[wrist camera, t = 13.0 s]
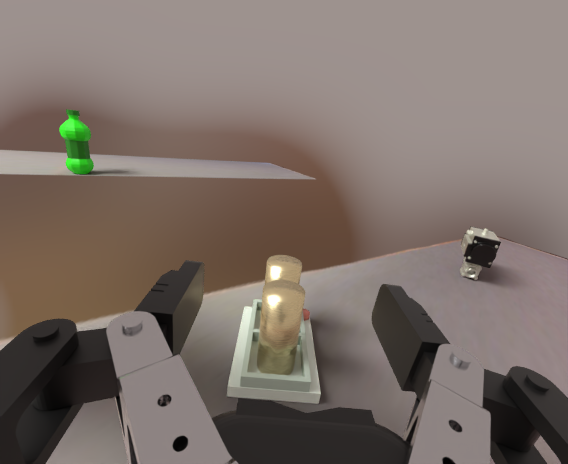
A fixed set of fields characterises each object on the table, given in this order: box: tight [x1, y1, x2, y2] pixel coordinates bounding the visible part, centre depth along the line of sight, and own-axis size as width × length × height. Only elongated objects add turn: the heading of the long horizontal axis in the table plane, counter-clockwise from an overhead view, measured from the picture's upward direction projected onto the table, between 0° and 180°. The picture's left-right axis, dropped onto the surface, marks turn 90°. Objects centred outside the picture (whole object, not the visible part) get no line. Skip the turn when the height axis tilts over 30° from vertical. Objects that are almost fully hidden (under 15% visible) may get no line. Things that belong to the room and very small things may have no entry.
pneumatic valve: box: [460, 227, 501, 280], centre depth 64 cm, size 6×12×12 cm, turn 152°
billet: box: [257, 280, 305, 375], centre depth 31 cm, size 4×4×10 cm
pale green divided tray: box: [227, 299, 321, 404], centre depth 36 cm, size 10×14×3 cm
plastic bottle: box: [60, 110, 94, 174], centre depth 114 cm, size 10×10×25 cm
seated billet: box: [265, 255, 302, 284], centre depth 37 cm, size 4×4×10 cm
